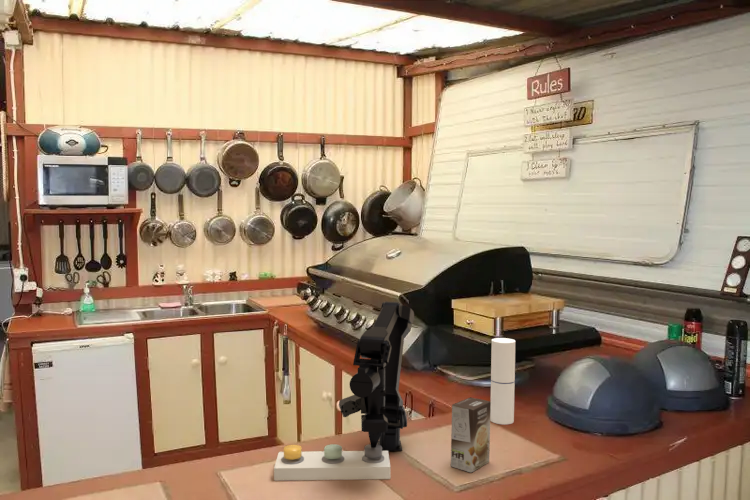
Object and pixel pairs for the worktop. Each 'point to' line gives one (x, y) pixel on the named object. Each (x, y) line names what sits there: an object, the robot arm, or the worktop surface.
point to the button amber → (292, 452)
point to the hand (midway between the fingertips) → (373, 446)
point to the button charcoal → (373, 451)
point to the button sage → (332, 451)
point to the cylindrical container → (502, 380)
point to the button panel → (332, 467)
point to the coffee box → (470, 434)
